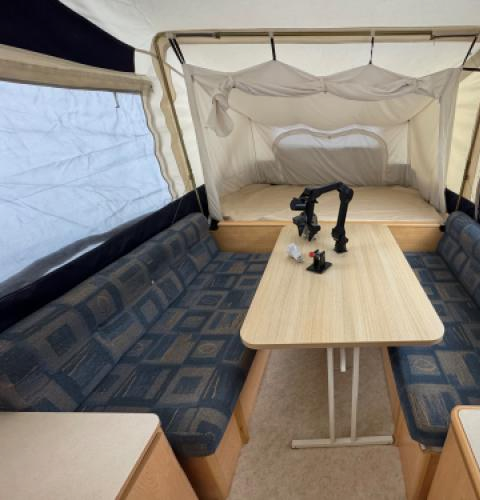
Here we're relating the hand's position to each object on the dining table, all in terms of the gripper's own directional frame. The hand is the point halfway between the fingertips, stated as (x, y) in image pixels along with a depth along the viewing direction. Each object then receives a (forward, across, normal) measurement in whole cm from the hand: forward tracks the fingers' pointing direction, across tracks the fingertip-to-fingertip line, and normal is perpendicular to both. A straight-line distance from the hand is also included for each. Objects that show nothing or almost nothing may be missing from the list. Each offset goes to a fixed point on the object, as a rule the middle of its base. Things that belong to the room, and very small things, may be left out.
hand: (304, 238), depth 146 cm
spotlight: (+15, -8, +1) cm, 17 cm away
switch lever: (+7, +11, 0) cm, 13 cm away
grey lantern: (+10, -30, +25) cm, 40 cm away
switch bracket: (+14, +10, +6) cm, 18 cm away
